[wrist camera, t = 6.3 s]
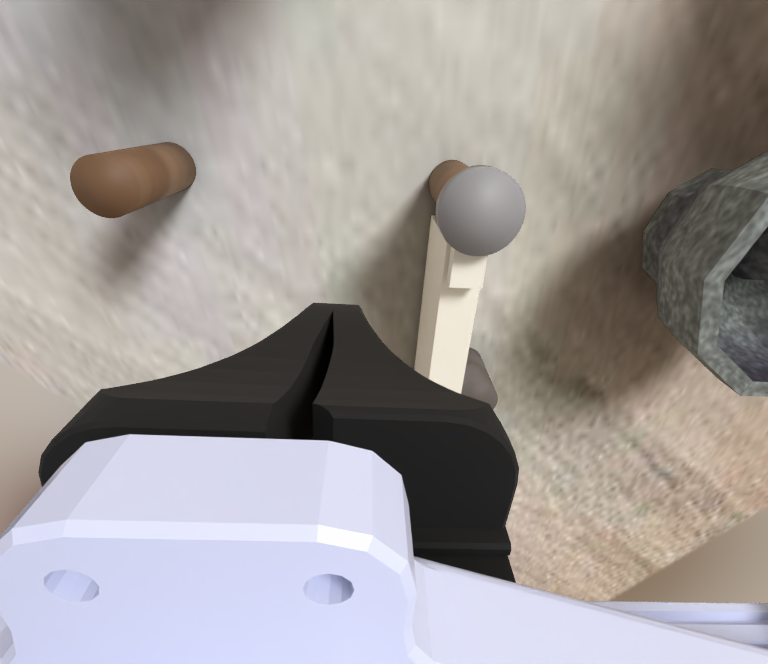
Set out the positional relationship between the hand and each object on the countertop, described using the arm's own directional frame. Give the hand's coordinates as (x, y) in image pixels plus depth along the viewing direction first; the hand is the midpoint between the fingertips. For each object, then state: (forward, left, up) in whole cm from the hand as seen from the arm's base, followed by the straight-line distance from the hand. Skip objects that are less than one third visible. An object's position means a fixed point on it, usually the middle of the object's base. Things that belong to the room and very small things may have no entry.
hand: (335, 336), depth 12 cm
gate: (+4, -2, -10) cm, 11 cm away
